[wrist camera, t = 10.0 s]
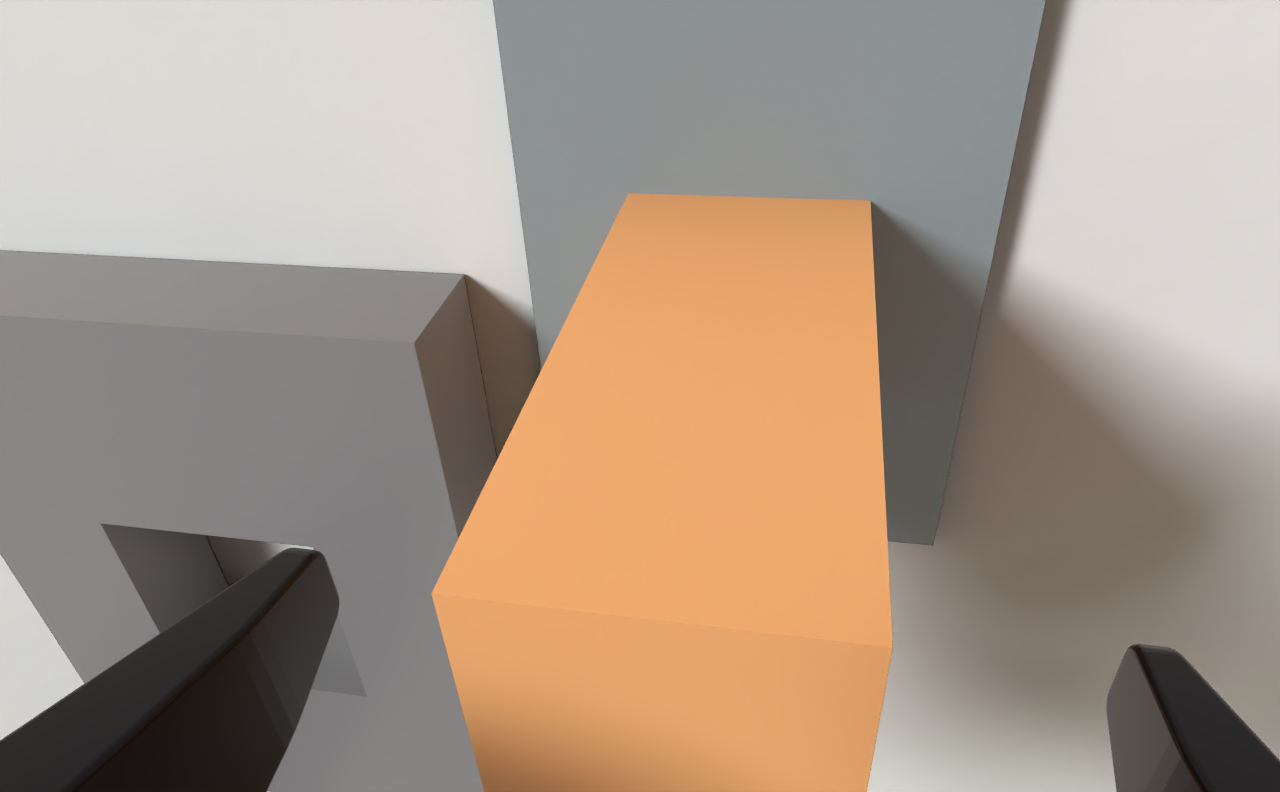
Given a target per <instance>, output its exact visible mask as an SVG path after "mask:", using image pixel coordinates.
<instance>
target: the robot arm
mask: <svg viewBox="0 0 1280 792" xmlns="http://www.w3.org/2000/svg"><path fill="white" fill-rule="evenodd" d="M339 604H340V602H339V595H338V592H337V589H336V586H335V583H334V580H333V577H332V575H331V572H330V569H329V566H328V563H327V560H326V558H325V556H324V555H323V554H322V553H321V552H320V551H317V550H309V549H300V548H289V549H286V550H284V551H282V552H280V553H279V554H277V555H276V556H274V557H273V558H271V559H270V560H268V561H267V562H265V563H264V564H262V565H261V566H259V567H258V568H256V569H255V570H253V571H252V572H250V573H249V574H247V575H246V576H244V577H243V578H241V579H240V580H238V581H237V582H235V583H234V584H232V585H231V586H229V587H228V588H226V589H225V590H223V591H222V592H221V593H219V594H218V595H216V596H215V597H213V598H212V599H210V600H209V601H207V602H206V603H204V604H203V605H201V606H200V607H198V608H197V609H195V610H194V611H192V612H191V613H189V614H188V615H186V616H185V617H183V618H182V619H180V620H179V621H177V622H176V623H174V624H173V625H171V626H170V627H168V628H167V629H165V630H164V631H162V632H161V633H159V634H158V635H157V636H155V637H154V638H152V639H151V640H149V641H148V642H146V643H145V644H143V645H142V646H140V647H139V648H137V649H136V650H134V651H133V652H131V653H130V654H128V655H127V656H125V657H124V658H122V659H121V660H119V661H118V662H116V663H115V664H113V665H112V666H110V667H109V668H107V669H106V670H104V671H103V672H101V673H100V674H98V675H97V676H95V677H94V678H93V679H91V680H90V681H88V682H87V683H85V684H84V685H82V686H81V687H79V688H78V689H76V690H75V691H73V692H72V693H70V694H69V695H67V696H66V697H64V698H63V699H61V700H60V701H58V702H57V703H55V704H54V705H52V706H51V707H49V708H48V709H46V710H45V711H43V712H42V713H40V714H39V715H37V716H36V717H34V718H33V719H31V720H30V721H29V722H27V723H26V724H24V725H23V726H21V727H20V728H18V729H17V730H15V731H14V732H12V733H11V734H9V735H8V736H6V737H5V738H3V739H2V740H0V792H267V790H268V788H269V786H270V784H271V782H272V780H273V778H274V776H275V774H276V771H277V769H278V767H279V765H280V763H281V761H282V759H283V757H284V755H285V753H286V751H287V749H288V746H289V744H290V742H291V740H292V738H293V735H294V733H295V731H296V728H297V726H298V723H299V721H300V718H301V716H302V713H303V711H304V708H305V705H306V702H307V700H308V697H309V694H310V691H311V688H312V686H313V683H314V680H315V677H316V675H317V672H318V669H319V666H320V664H321V661H322V658H323V655H324V653H325V650H326V647H327V644H328V641H329V639H330V636H331V633H332V630H333V628H334V625H335V622H336V619H337V616H338V612H339ZM1107 718H1108V726H1109V734H1110V742H1111V750H1112V758H1113V766H1114V774H1115V782H1116V790H1117V792H1280V760H1279V759H1278V758H1277V757H1276V756H1275V755H1274V754H1273V753H1272V751H1271V750H1270V749H1269V748H1268V747H1267V746H1266V745H1265V744H1264V743H1263V742H1262V741H1261V740H1260V739H1259V737H1258V736H1257V735H1256V734H1255V733H1254V732H1253V731H1252V730H1251V729H1250V728H1249V727H1248V726H1247V725H1246V723H1245V722H1244V721H1243V720H1242V719H1241V718H1240V717H1239V716H1238V715H1237V714H1236V713H1235V712H1234V711H1233V709H1232V708H1231V707H1230V706H1229V705H1228V704H1227V703H1226V702H1225V701H1224V700H1223V699H1222V698H1221V697H1220V695H1219V694H1218V693H1217V692H1216V691H1215V690H1214V689H1213V688H1212V687H1211V686H1210V685H1209V684H1208V683H1207V681H1206V680H1205V679H1204V678H1203V677H1202V676H1201V675H1200V674H1199V673H1198V672H1197V671H1196V670H1195V669H1194V667H1193V666H1192V665H1191V664H1190V663H1189V662H1188V661H1187V660H1186V659H1185V658H1184V657H1183V656H1182V655H1181V654H1180V653H1179V652H1177V651H1176V650H1174V649H1171V648H1167V647H1159V646H1150V645H1142V644H1135V645H1132V646H1130V647H1129V648H1128V649H1127V651H1126V653H1125V655H1124V657H1123V659H1122V662H1121V664H1120V666H1119V669H1118V671H1117V674H1116V676H1115V678H1114V681H1113V683H1112V685H1111V688H1110V690H1109V693H1108V698H1107Z"/></svg>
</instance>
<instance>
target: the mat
mask: <svg viewBox="0 0 1280 792" xmlns="http://www.w3.org/2000/svg"><path fill="white" fill-rule="evenodd" d="M1045 1H1046V0H493V5H494V13H495V21H496V28H497V36H498V44H499V51H500V59H501V67H502V74H503V82H504V90H505V97H506V105H507V112H508V120H509V128H510V135H511V143H512V151H513V158H514V166H515V174H516V181H517V189H518V197H519V204H520V212H521V220H522V227H523V235H524V242H525V250H526V258H527V265H528V273H529V281H530V288H531V296H532V304H533V311H534V319H535V327H536V334H537V342H538V350H539V357H540V365H541V370H542V368H543V366H544V364H545V362H546V360H547V357H548V355H549V353H550V351H551V349H552V347H553V345H554V343H555V341H556V339H557V337H558V335H559V333H560V331H561V329H562V327H563V325H564V323H565V321H566V319H567V317H568V315H569V313H570V311H571V309H572V307H573V305H574V303H575V301H576V298H577V296H578V294H579V292H580V290H581V288H582V286H583V284H584V282H585V280H586V278H587V276H588V274H589V272H590V270H591V268H592V266H593V264H594V262H595V260H596V258H597V256H598V254H599V252H600V250H601V248H602V246H603V244H604V242H605V239H606V237H607V235H608V233H609V231H610V229H611V227H612V225H613V223H614V221H615V219H616V217H617V215H618V213H619V211H620V209H621V207H622V205H623V203H624V201H625V199H626V197H627V195H628V193H635V194H668V195H701V196H734V197H767V198H799V199H832V200H865V201H871V221H872V241H873V261H874V281H875V301H876V321H877V341H878V361H879V381H880V401H881V421H882V441H883V461H884V481H885V501H886V521H887V541H893V542H903V543H913V544H923V545H933V544H934V540H935V535H936V530H937V525H938V520H939V515H940V510H941V506H942V501H943V496H944V491H945V486H946V481H947V477H948V472H949V467H950V462H951V457H952V452H953V447H954V443H955V438H956V433H957V428H958V423H959V418H960V413H961V409H962V404H963V399H964V394H965V389H966V384H967V379H968V375H969V370H970V365H971V360H972V355H973V350H974V346H975V341H976V336H977V331H978V326H979V321H980V316H981V312H982V307H983V302H984V297H985V292H986V287H987V282H988V278H989V273H990V268H991V263H992V258H993V253H994V248H995V244H996V239H997V234H998V229H999V224H1000V219H1001V215H1002V210H1003V205H1004V200H1005V195H1006V190H1007V185H1008V181H1009V176H1010V171H1011V166H1012V161H1013V156H1014V151H1015V147H1016V142H1017V137H1018V132H1019V127H1020V122H1021V117H1022V113H1023V108H1024V103H1025V98H1026V93H1027V88H1028V83H1029V79H1030V74H1031V69H1032V64H1033V59H1034V54H1035V50H1036V45H1037V40H1038V35H1039V30H1040V25H1041V20H1042V16H1043V11H1044V6H1045Z"/></svg>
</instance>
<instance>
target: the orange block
mask: <svg viewBox="0 0 1280 792" xmlns="http://www.w3.org/2000/svg"><path fill="white" fill-rule="evenodd" d="M431 594H432V598H433V602H434V606H435V609H436V613H437V617H438V620H439V624H440V628H441V632H442V635H443V639H444V643H445V647H446V650H447V654H448V658H449V662H450V665H451V669H452V673H453V676H454V680H455V684H456V688H457V691H458V695H459V699H460V703H461V706H462V710H463V714H464V718H465V721H466V725H467V729H468V732H469V736H470V740H471V744H472V747H473V751H474V755H475V759H476V762H477V766H478V770H479V774H480V777H481V781H482V785H483V788H484V792H867V787H868V782H869V776H870V771H871V765H872V760H873V754H874V749H875V743H876V737H877V732H878V726H879V721H880V715H881V710H882V704H883V699H884V693H885V688H886V682H887V677H888V671H889V666H890V660H891V655H892V649H893V641H892V621H891V601H890V581H889V561H888V541H887V521H886V501H885V481H884V461H883V441H882V421H881V401H880V381H879V361H878V341H877V321H876V301H875V281H874V261H873V241H872V221H871V201H865V200H832V199H799V198H767V197H734V196H701V195H668V194H635V193H628V195H627V197H626V199H625V201H624V203H623V205H622V207H621V209H620V211H619V213H618V215H617V217H616V219H615V221H614V223H613V225H612V227H611V229H610V231H609V233H608V235H607V237H606V239H605V242H604V244H603V246H602V248H601V250H600V252H599V254H598V256H597V258H596V260H595V262H594V264H593V266H592V268H591V270H590V272H589V274H588V276H587V278H586V280H585V282H584V284H583V286H582V288H581V290H580V292H579V294H578V296H577V298H576V301H575V303H574V305H573V307H572V309H571V311H570V313H569V315H568V317H567V319H566V321H565V323H564V325H563V327H562V329H561V331H560V333H559V335H558V337H557V339H556V341H555V343H554V345H553V347H552V349H551V351H550V353H549V355H548V357H547V360H546V362H545V364H544V366H543V368H542V370H541V372H540V374H539V376H538V378H537V380H536V382H535V384H534V386H533V388H532V390H531V392H530V394H529V396H528V398H527V400H526V402H525V404H524V406H523V408H522V410H521V412H520V414H519V416H518V419H517V421H516V423H515V425H514V427H513V429H512V431H511V433H510V435H509V437H508V439H507V441H506V443H505V445H504V447H503V449H502V451H501V453H500V455H499V457H498V459H497V461H496V463H495V465H494V467H493V469H492V471H491V473H490V475H489V477H488V480H487V482H486V484H485V486H484V488H483V490H482V492H481V494H480V496H479V498H478V500H477V502H476V504H475V506H474V508H473V510H472V512H471V514H470V516H469V518H468V520H467V522H466V524H465V526H464V528H463V530H462V532H461V534H460V536H459V539H458V541H457V543H456V545H455V547H454V549H453V551H452V553H451V555H450V557H449V559H448V561H447V563H446V565H445V567H444V569H443V571H442V573H441V575H440V577H439V579H438V581H437V583H436V585H435V587H434V589H433V591H432V593H431Z"/></svg>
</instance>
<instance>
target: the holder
mask: <svg viewBox="0 0 1280 792" xmlns="http://www.w3.org/2000/svg"><path fill="white" fill-rule="evenodd" d="M496 461H497V458H496V452H495V446H494V441H493V435H492V430H491V424H490V418H489V413H488V407H487V401H486V396H485V390H484V385H483V379H482V373H481V368H480V362H479V357H478V351H477V345H476V340H475V334H474V329H473V323H472V317H471V312H470V306H469V300H468V295H467V289H466V284H465V278H464V274H448V273H428V272H409V271H389V270H370V269H350V268H331V267H312V266H292V265H273V264H253V263H234V262H214V261H195V260H175V259H156V258H137V257H117V256H98V255H78V254H59V253H39V252H20V251H1V250H0V554H1V556H2V557H3V559H4V560H5V562H6V563H7V565H8V566H9V568H10V569H11V571H12V573H13V574H14V576H15V577H16V579H17V580H18V582H19V583H20V585H21V586H22V588H23V589H24V591H25V593H26V594H27V596H28V597H29V599H30V600H31V602H32V603H33V605H34V606H35V608H36V609H37V611H38V613H39V614H40V616H41V617H42V619H43V620H44V622H45V623H46V625H47V626H48V628H49V629H50V631H51V633H52V634H53V636H54V637H55V639H56V640H57V642H58V643H59V645H60V646H61V648H62V649H63V651H64V653H65V654H66V656H67V657H68V659H69V660H70V662H71V663H72V665H73V666H74V668H75V669H76V671H77V672H78V674H79V676H80V677H81V679H82V680H83V682H84V683H87V682H88V681H90V680H91V679H93V678H94V677H95V676H97V675H98V674H100V673H101V672H103V671H104V670H106V669H107V668H109V667H110V666H112V665H113V664H115V663H116V662H118V661H119V660H121V659H122V658H124V657H125V656H127V655H128V654H130V653H131V652H133V651H134V650H136V649H137V648H139V647H140V646H142V645H143V644H145V643H146V642H148V641H149V640H151V639H152V638H154V637H155V636H157V635H158V634H159V633H161V632H162V631H164V630H165V629H167V628H168V627H170V626H171V625H173V624H174V623H176V622H177V621H179V620H180V619H182V618H183V617H185V616H186V615H188V614H189V613H191V612H192V611H194V610H195V609H197V608H198V607H200V606H201V605H203V604H204V603H206V602H207V601H209V600H210V599H212V598H213V597H215V596H216V595H218V594H219V593H221V592H222V591H223V590H225V589H226V588H228V584H227V582H226V580H225V578H224V576H223V573H222V571H221V569H220V567H219V565H218V562H217V560H216V558H215V556H214V554H213V551H212V549H211V547H210V545H209V543H208V540H207V538H206V536H205V535H210V536H219V537H228V538H237V539H246V540H254V541H263V542H272V543H281V544H290V545H299V546H308V547H313V548H314V550H317V551H320V552H321V553H322V554H323V555H324V556H325V558H326V560H327V563H328V566H329V569H330V572H331V575H332V577H333V580H334V583H335V586H336V589H337V592H338V595H339V602H340V604H339V612H338V616H337V619H336V622H335V625H334V628H333V630H332V633H331V636H330V639H329V641H328V644H327V647H326V650H325V653H324V655H323V658H322V661H321V664H320V666H319V669H318V672H317V675H316V677H315V680H314V683H313V686H312V688H311V691H310V694H309V697H308V700H307V702H306V705H305V708H304V711H303V713H302V716H301V718H300V721H299V723H298V726H297V728H296V731H295V733H294V735H293V738H292V740H291V742H290V744H289V746H288V749H287V751H286V753H285V755H284V757H283V759H282V761H281V763H280V765H279V767H278V769H277V771H276V774H275V776H274V778H273V780H272V782H271V784H270V786H269V788H268V790H267V791H270V792H484V788H483V785H482V781H481V777H480V774H479V770H478V766H477V762H476V759H475V755H474V751H473V747H472V744H471V740H470V736H469V732H468V729H467V725H466V721H465V718H464V714H463V710H462V706H461V703H460V699H459V695H458V691H457V688H456V684H455V680H454V676H453V673H452V669H451V665H450V662H449V658H448V654H447V650H446V647H445V643H444V639H443V635H442V632H441V628H440V624H439V620H438V617H437V613H436V609H435V606H434V602H433V598H432V594H431V593H432V591H433V589H434V587H435V585H436V583H437V581H438V579H439V577H440V575H441V573H442V571H443V569H444V567H445V565H446V563H447V561H448V559H449V557H450V555H451V553H452V551H453V549H454V547H455V545H456V543H457V541H458V539H459V536H460V534H461V532H462V530H463V528H464V526H465V524H466V522H467V520H468V518H469V516H470V514H471V512H472V510H473V508H474V506H475V504H476V502H477V500H478V498H479V496H480V494H481V492H482V490H483V488H484V486H485V484H486V482H487V480H488V477H489V475H490V473H491V471H492V469H493V467H494V465H495V463H496Z"/></svg>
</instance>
